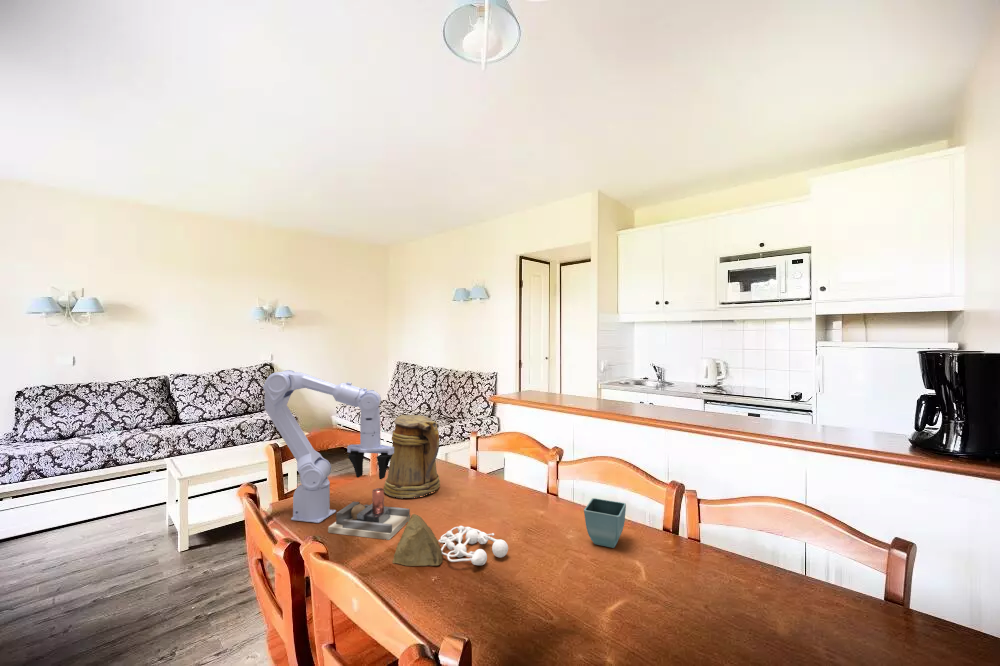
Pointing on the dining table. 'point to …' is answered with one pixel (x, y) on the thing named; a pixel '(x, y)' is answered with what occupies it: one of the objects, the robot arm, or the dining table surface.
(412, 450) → the tankard
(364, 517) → the sliding jaw
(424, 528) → the rock
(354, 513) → the walnut
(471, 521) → the dining table surface
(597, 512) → the flower pot
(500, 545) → the white knotted ball cord
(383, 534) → the base
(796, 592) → the dining table surface
